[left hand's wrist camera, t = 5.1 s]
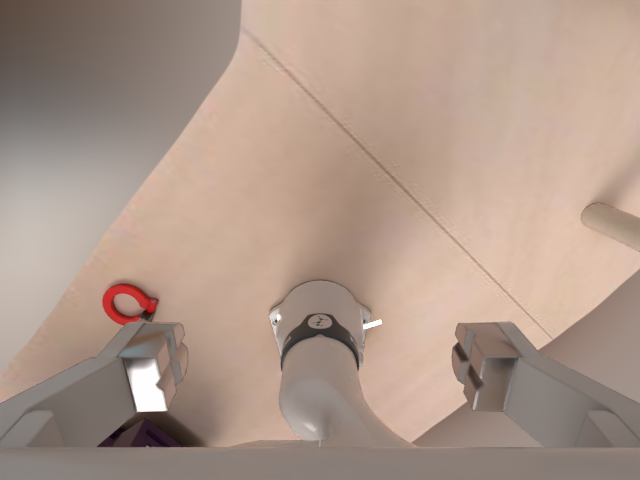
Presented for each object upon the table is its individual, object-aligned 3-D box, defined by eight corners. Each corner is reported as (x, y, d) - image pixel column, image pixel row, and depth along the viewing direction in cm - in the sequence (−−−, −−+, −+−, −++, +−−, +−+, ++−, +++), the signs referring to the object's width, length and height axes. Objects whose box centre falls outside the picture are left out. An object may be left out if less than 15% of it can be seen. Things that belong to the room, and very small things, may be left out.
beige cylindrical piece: (609, 220, 60) (702, 259, 45) (583, 231, 61) (667, 273, 46) (604, 198, 58) (698, 231, 44) (578, 209, 59) (662, 246, 45)
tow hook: (101, 312, 67) (148, 331, 68) (49, 357, 55) (108, 379, 56) (112, 275, 64) (161, 296, 65) (59, 314, 52) (121, 339, 53)
